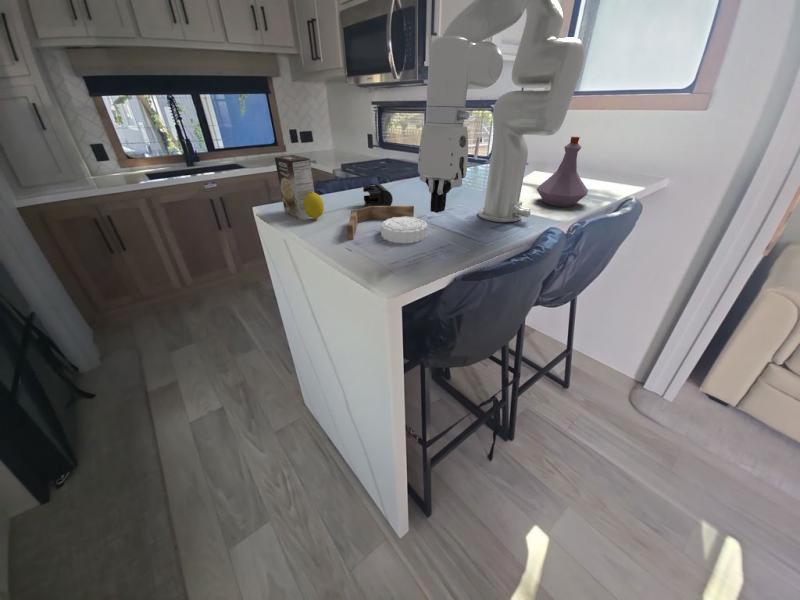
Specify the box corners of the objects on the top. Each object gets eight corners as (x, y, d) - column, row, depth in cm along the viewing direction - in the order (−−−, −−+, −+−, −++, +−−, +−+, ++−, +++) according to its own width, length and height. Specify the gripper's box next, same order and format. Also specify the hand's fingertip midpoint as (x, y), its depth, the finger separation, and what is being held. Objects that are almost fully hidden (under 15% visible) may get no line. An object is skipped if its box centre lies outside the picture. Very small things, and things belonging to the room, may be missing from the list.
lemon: (308, 223, 92) (304, 194, 88) (304, 218, 96) (299, 190, 92) (327, 220, 94) (324, 192, 90) (322, 215, 99) (318, 188, 94)
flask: (549, 194, 120) (564, 133, 110) (595, 204, 109) (615, 137, 99) (523, 201, 112) (536, 136, 101) (569, 213, 100) (589, 141, 90)
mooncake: (436, 238, 84) (437, 224, 82) (397, 248, 78) (396, 233, 76) (410, 224, 92) (410, 212, 90) (372, 233, 87) (372, 220, 85)
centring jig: (415, 218, 96) (415, 206, 95) (350, 240, 82) (349, 226, 80) (392, 211, 102) (391, 199, 100) (327, 230, 87) (325, 217, 86)
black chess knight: (393, 211, 103) (392, 189, 99) (371, 213, 101) (370, 190, 97) (384, 202, 111) (383, 182, 107) (363, 204, 109) (362, 183, 105)
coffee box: (283, 213, 101) (273, 156, 92) (301, 208, 105) (293, 154, 96) (300, 219, 95) (290, 160, 87) (318, 214, 99) (310, 157, 91)
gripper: (488, 119, 62) (475, 215, 71) (427, 116, 71) (423, 202, 80) (465, 119, 57) (454, 222, 67) (404, 116, 66) (401, 207, 75)
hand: (437, 211), depth 73 cm, fingers closed
